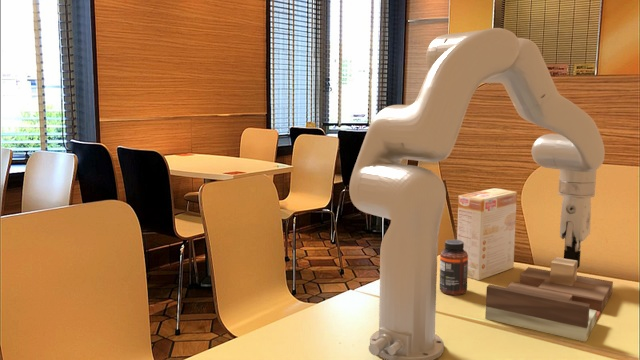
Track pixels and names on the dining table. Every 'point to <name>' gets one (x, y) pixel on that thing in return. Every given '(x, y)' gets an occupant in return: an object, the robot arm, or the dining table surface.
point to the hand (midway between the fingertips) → (571, 266)
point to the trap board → (549, 304)
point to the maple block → (563, 271)
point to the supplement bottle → (453, 268)
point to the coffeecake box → (487, 231)
